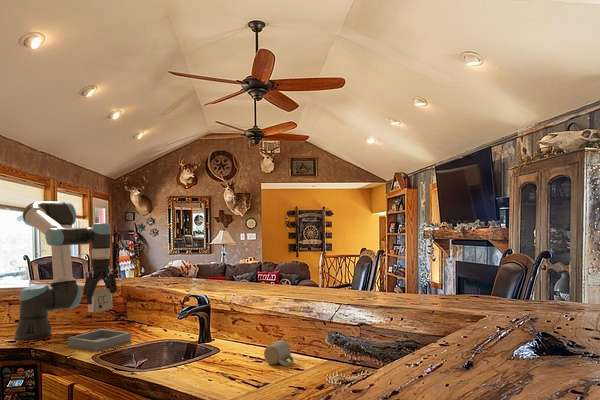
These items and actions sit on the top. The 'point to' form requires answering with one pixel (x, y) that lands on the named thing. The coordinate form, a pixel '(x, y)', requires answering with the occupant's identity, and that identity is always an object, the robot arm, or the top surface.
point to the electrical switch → (102, 300)
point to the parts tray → (99, 340)
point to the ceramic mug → (278, 353)
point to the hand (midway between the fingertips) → (100, 309)
